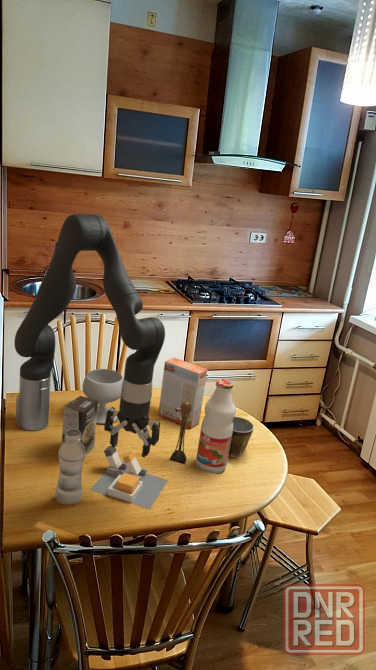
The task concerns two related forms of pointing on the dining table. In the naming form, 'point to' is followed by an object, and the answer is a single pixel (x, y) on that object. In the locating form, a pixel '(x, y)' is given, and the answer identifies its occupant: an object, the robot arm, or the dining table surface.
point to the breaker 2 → (132, 463)
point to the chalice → (103, 389)
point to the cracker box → (182, 390)
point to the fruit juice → (216, 429)
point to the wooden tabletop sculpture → (181, 434)
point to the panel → (140, 496)
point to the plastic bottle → (70, 468)
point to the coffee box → (81, 420)
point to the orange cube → (127, 483)
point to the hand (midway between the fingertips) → (129, 450)
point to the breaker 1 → (112, 457)
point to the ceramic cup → (240, 436)
